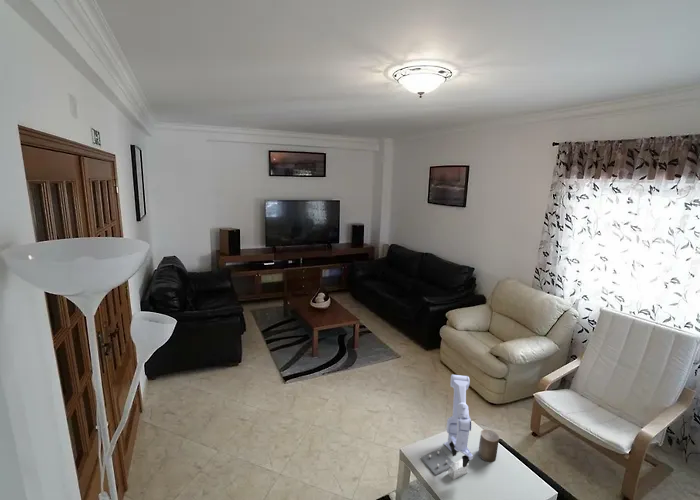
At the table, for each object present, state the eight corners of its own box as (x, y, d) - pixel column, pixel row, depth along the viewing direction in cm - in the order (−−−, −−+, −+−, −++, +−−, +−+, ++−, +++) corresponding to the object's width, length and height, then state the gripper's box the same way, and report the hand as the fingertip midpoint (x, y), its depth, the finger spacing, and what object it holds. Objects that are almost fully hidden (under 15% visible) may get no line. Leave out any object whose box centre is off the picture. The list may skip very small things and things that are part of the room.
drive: (461, 467, 191) (463, 458, 190) (467, 472, 188) (468, 463, 186) (447, 473, 187) (449, 464, 185) (453, 479, 183) (454, 470, 182)
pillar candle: (498, 462, 195) (502, 440, 191) (481, 461, 195) (484, 439, 192) (492, 448, 204) (495, 427, 201) (475, 448, 205) (478, 426, 201)
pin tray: (440, 450, 202) (440, 446, 201) (455, 466, 192) (455, 461, 191) (421, 458, 196) (421, 454, 195) (435, 475, 186) (435, 470, 185)
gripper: (446, 432, 187) (444, 453, 190) (466, 451, 174) (463, 474, 177) (456, 428, 190) (454, 449, 193) (477, 447, 177) (473, 469, 181)
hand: (459, 460), depth 185 cm, fingers open, 7 cm apart
